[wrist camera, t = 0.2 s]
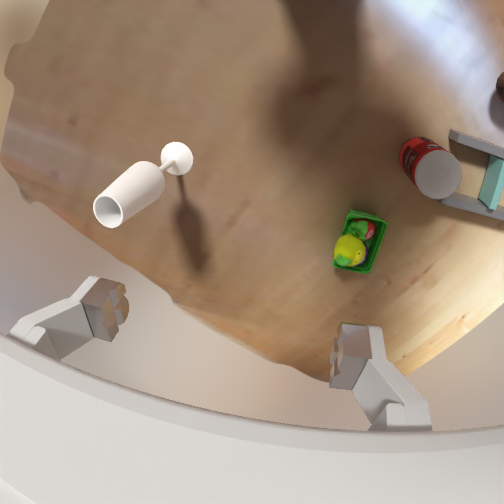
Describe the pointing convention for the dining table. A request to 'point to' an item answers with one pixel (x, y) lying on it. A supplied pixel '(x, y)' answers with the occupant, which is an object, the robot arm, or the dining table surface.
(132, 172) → the champagne flute
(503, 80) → the potato
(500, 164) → the block
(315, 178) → the dining table surface
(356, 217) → the fruit basket
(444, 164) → the canned food
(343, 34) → the dining table surface
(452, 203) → the lane
